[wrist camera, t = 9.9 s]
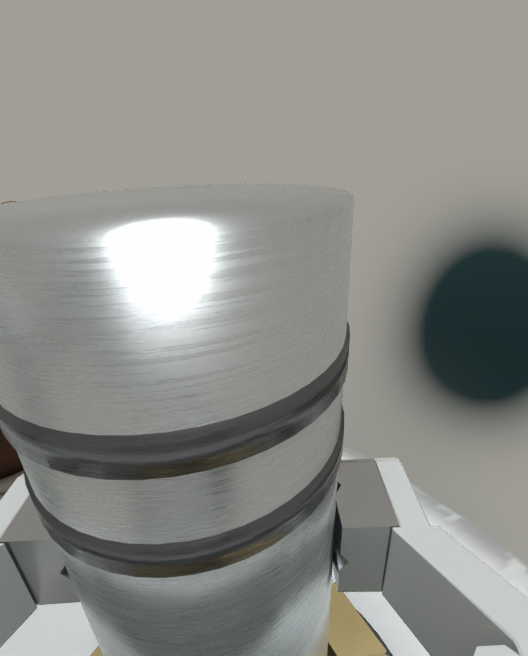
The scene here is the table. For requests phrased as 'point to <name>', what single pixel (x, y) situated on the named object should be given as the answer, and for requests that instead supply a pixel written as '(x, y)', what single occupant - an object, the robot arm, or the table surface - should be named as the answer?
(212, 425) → the piston
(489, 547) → the table surface
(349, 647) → the ring seat
